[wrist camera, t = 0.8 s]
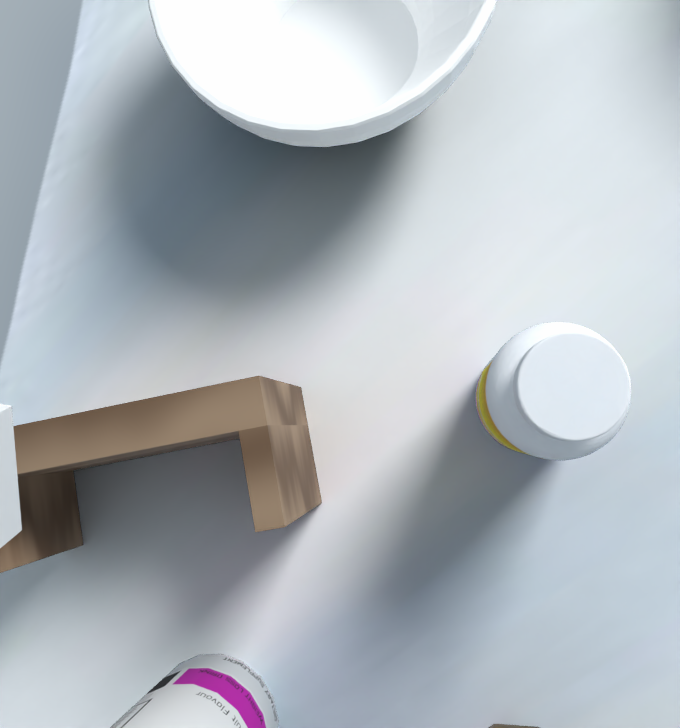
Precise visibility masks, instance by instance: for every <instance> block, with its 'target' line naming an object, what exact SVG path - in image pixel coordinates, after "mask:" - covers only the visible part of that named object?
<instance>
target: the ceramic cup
mask: <svg viewBox="0 0 680 728" xmlns="http://www.w3.org/2000/svg"><path fill="white" fill-rule="evenodd" d="M489 728H539V727H531V726H518V725H504V724H493V725H492V726H490V727H489Z"/></svg>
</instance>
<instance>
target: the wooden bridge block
mask: <svg viewBox="0 0 680 728" xmlns="http://www.w3.org/2000/svg"><path fill="white" fill-rule="evenodd" d="M13 428H14V440H15V452H16V464H17V476H18V488H19V501H20V513H21V525H22V530H21V531H20V532H19V533H18V534H17V535H16V536H14V537H13V538H12V539H11V540H10V541H8V542H7V543H6V544H5V545H4V546H3V547H1V548H0V573H1V572H4V571H7V570H10V569H13V568H16V567H19V566H22V565H25V564H28V563H31V562H34V561H37V560H40V559H43V558H46V557H49V556H52V555H55V554H58V553H61V552H64V551H67V550H70V549H73V548H76V547H79V546H82V545H83V539H82V531H81V524H80V517H79V509H78V502H77V494H76V487H75V479H74V472H73V471H74V470H79V469H84V468H90V467H95V466H100V465H105V464H110V463H115V462H121V461H126V460H131V459H136V458H141V457H146V456H152V455H157V454H162V453H167V452H172V451H177V450H183V449H188V448H193V447H198V446H203V445H208V444H214V443H219V442H224V441H229V440H234V439H239V438H240V443H241V449H242V455H243V461H244V467H245V473H246V479H247V485H248V491H249V497H250V503H251V509H252V515H253V521H254V527H255V532H260V531H265V530H271V529H277V528H283V527H286V526H287V525H289V524H290V523H292V522H293V521H295V520H296V519H298V518H299V517H301V516H302V515H304V514H306V513H307V512H309V511H310V510H312V509H313V508H315V507H316V506H318V505H319V504H321V503H322V501H321V496H320V490H319V485H318V479H317V474H316V468H315V463H314V457H313V451H312V446H311V440H310V435H309V429H308V424H307V418H306V413H305V407H304V402H303V396H302V390H301V387H298V386H294V385H291V384H287V383H283V382H280V381H276V380H273V379H269V378H265V377H262V376H255V377H250V378H245V379H240V380H236V381H231V382H226V383H221V384H216V385H211V386H207V387H202V388H197V389H192V390H187V391H182V392H177V393H173V394H168V395H163V396H158V397H153V398H148V399H143V400H139V401H134V402H129V403H124V404H119V405H114V406H109V407H105V408H100V409H95V410H90V411H85V412H80V413H75V414H71V415H66V416H61V417H56V418H51V419H46V420H41V421H37V422H32V423H27V424H22V425H17V426H13Z"/></svg>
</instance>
